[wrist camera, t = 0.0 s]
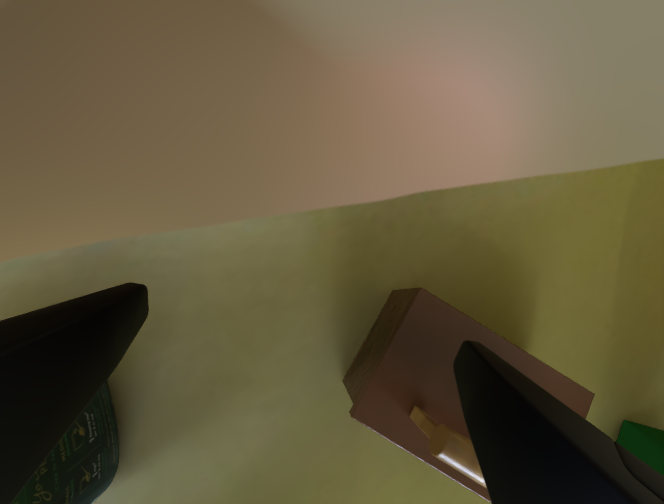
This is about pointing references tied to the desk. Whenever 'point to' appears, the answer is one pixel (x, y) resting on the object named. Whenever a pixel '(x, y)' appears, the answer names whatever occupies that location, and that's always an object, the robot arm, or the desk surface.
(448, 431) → the tea lid
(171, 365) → the desk surface
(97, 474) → the coffee jar
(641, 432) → the milk carton
